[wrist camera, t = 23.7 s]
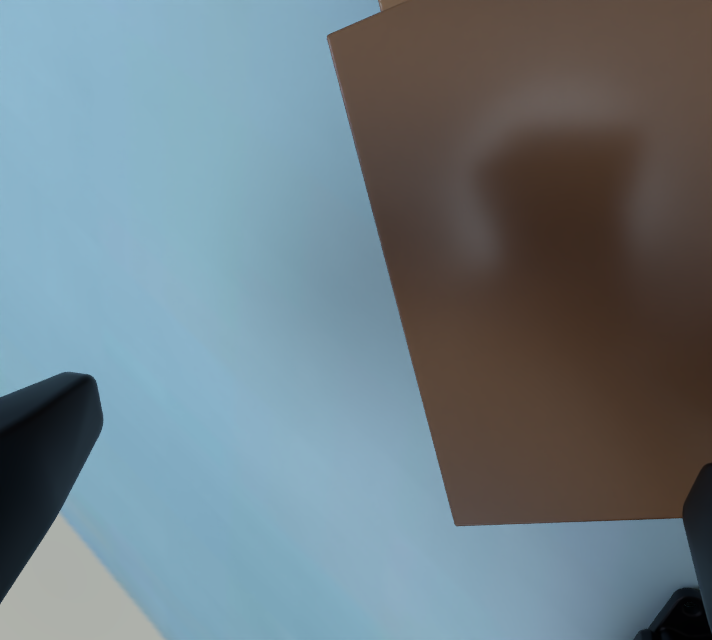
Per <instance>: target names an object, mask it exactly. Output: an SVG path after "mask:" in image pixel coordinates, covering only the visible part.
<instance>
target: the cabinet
mask: <svg viewBox="0 0 712 640" xmlns="http://www.w3.org/2000/svg"><path fill="white" fill-rule="evenodd" d="M327 41H328V44H329V48H330V52H331V56H332V60H333V63H334V67H335V71H336V75H337V79H338V82H339V86H340V90H341V94H342V98H343V101H344V105H345V109H346V113H347V117H348V120H349V124H350V128H351V132H352V136H353V139H354V143H355V147H356V151H357V155H358V158H359V162H360V166H361V170H362V174H363V177H364V181H365V185H366V189H367V193H368V196H369V200H370V204H371V208H372V212H373V216H374V219H375V223H376V227H377V231H378V235H379V238H380V242H381V246H382V250H383V254H384V257H385V261H386V265H387V269H388V273H389V276H390V280H391V284H392V288H393V292H394V295H395V299H396V303H397V307H398V311H399V314H400V318H401V322H402V326H403V330H404V333H405V337H406V341H407V345H408V349H409V352H410V356H411V360H412V364H413V368H414V372H415V375H416V379H417V383H418V387H419V391H420V394H421V398H422V402H423V406H424V410H425V413H426V417H427V421H428V425H429V429H430V432H431V436H432V440H433V444H434V448H435V451H436V455H437V459H438V463H439V467H440V470H441V474H442V478H443V482H444V486H445V489H446V493H447V497H448V501H449V505H450V508H451V512H452V516H453V520H454V524H455V525H456V526H475V525H503V524H531V523H559V522H587V521H615V520H643V519H670V518H683V517H682V510H683V505H684V502H685V500H686V498H687V496H688V494H689V492H690V490H691V488H692V486H693V484H694V482H695V480H696V478H697V476H698V474H699V472H700V470H701V469H702V467H703V466H704V465H706V464H707V463H712V0H407V1H404V2H402V3H400V4H398V5H395V6H393V7H391V8H388V9H386V10H384V11H381V12H379V13H377V14H375V15H372V16H370V17H368V18H365V19H363V20H361V21H358V22H356V23H354V24H351V25H349V26H347V27H345V28H342V29H340V30H338V31H335V32H333V33H331V34H329V35H328V36H327Z"/></svg>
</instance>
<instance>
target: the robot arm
mask: <svg viewBox="0 0 712 640" xmlns="http://www.w3.org/2000/svg"><path fill="white" fill-rule="evenodd" d="M102 426H103V413H102V408H101V402H100V397H99V392H98V387H97V383H96V380H95V379H94V377H92V376H91V375H88V374H81V373H74V372H64V373H61V374H58V375H56V376H53V377H51V378H48V379H46V380H43V381H41V382H38V383H35V384H33V385H30V386H28V387H25V388H23V389H20V390H18V391H15V392H13V393H10V394H8V395H5V396H3V397H0V603H1V602H2V600H3V599H4V597H5V596H6V594H7V593H8V591H9V590H10V588H11V587H12V585H13V584H14V582H15V580H16V579H17V577H18V576H19V574H20V573H21V571H22V570H23V568H24V566H25V565H26V564H27V562H28V560H29V559H30V558H31V556H32V555H33V553H34V551H35V550H36V548H37V547H38V545H39V544H40V542H41V541H42V539H43V538H44V536H45V535H46V533H47V531H48V530H49V528H50V527H51V525H52V523H53V522H54V520H55V519H56V517H57V515H58V513H59V511H60V510H61V508H62V506H63V504H64V502H65V500H66V498H67V497H68V495H69V493H70V491H71V489H72V487H73V485H74V483H75V481H76V479H77V477H78V475H79V473H80V471H81V469H82V468H83V466H84V464H85V462H86V460H87V458H88V456H89V454H90V452H91V450H92V448H93V446H94V444H95V442H96V441H97V439H98V437H99V435H100V432H101V430H102ZM682 517H683V523H684V527H685V531H686V535H687V539H688V543H689V547H690V552H691V556H692V560H693V564H694V568H695V572H696V576H697V580H698V584H699V588H700V591H698V590H695V589H692V588H682V589H678V590H677V591H676V592H675V593H674V594H673V595H672V596H671V598H670V599H669V601H668V602H667V603H666V605H665V606H664V607H663V609H662V610H661V611H660V613H659V614H658V616H657V617H656V618H655V620H654V621H653V622H652V624H651V625H650V627H649V628H648V629H647V628H646V629H644V630H641V631H639V632H638V634H637V635H636V637H635V638H634V639H633V640H712V463H707V464H706V465H704V466H703V467H702V469H701V470H700V472H699V474H698V476H697V478H696V480H695V482H694V484H693V486H692V488H691V490H690V492H689V494H688V496H687V498H686V500H685V502H684V505H683V510H682ZM690 602H692V603H695V604H697V605H695V606H693V607H688V606H685V605H684V604H686V603H690Z"/></svg>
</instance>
